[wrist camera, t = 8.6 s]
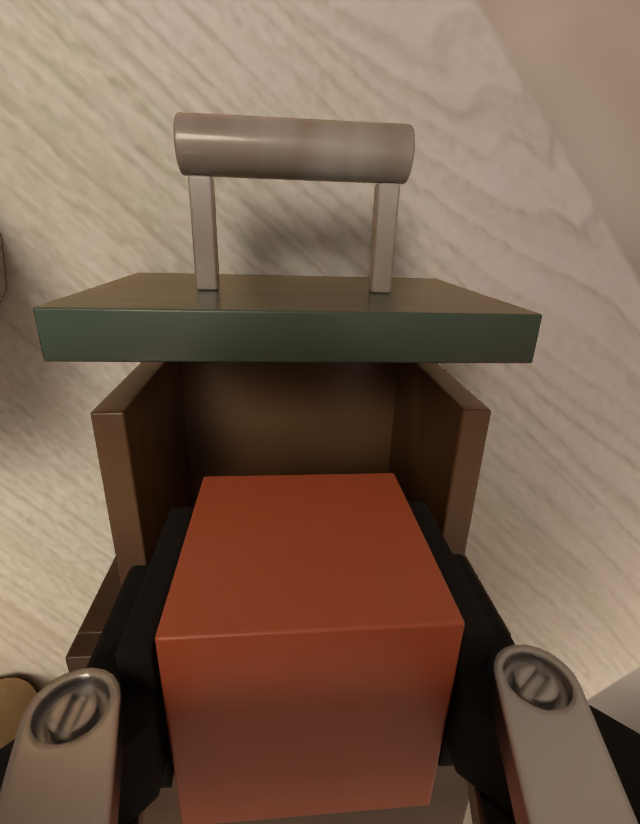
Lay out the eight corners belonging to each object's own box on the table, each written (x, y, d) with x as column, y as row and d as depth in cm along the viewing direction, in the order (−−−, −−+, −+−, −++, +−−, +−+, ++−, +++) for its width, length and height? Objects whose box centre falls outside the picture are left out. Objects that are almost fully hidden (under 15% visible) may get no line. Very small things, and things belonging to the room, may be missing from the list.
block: (203, 475, 10) (152, 638, 6) (394, 471, 11) (467, 623, 6) (214, 622, 12) (181, 828, 8) (380, 614, 12) (430, 806, 8)
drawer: (121, 138, 15) (-22, 59, 8) (451, 153, 16) (590, 96, 9) (172, 562, 22) (120, 727, 15) (402, 554, 23) (459, 704, 16)
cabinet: (154, 475, 21) (64, 658, 12) (418, 471, 22) (511, 634, 13) (182, 692, 27) (134, 924, 18) (392, 679, 28) (445, 892, 19)
